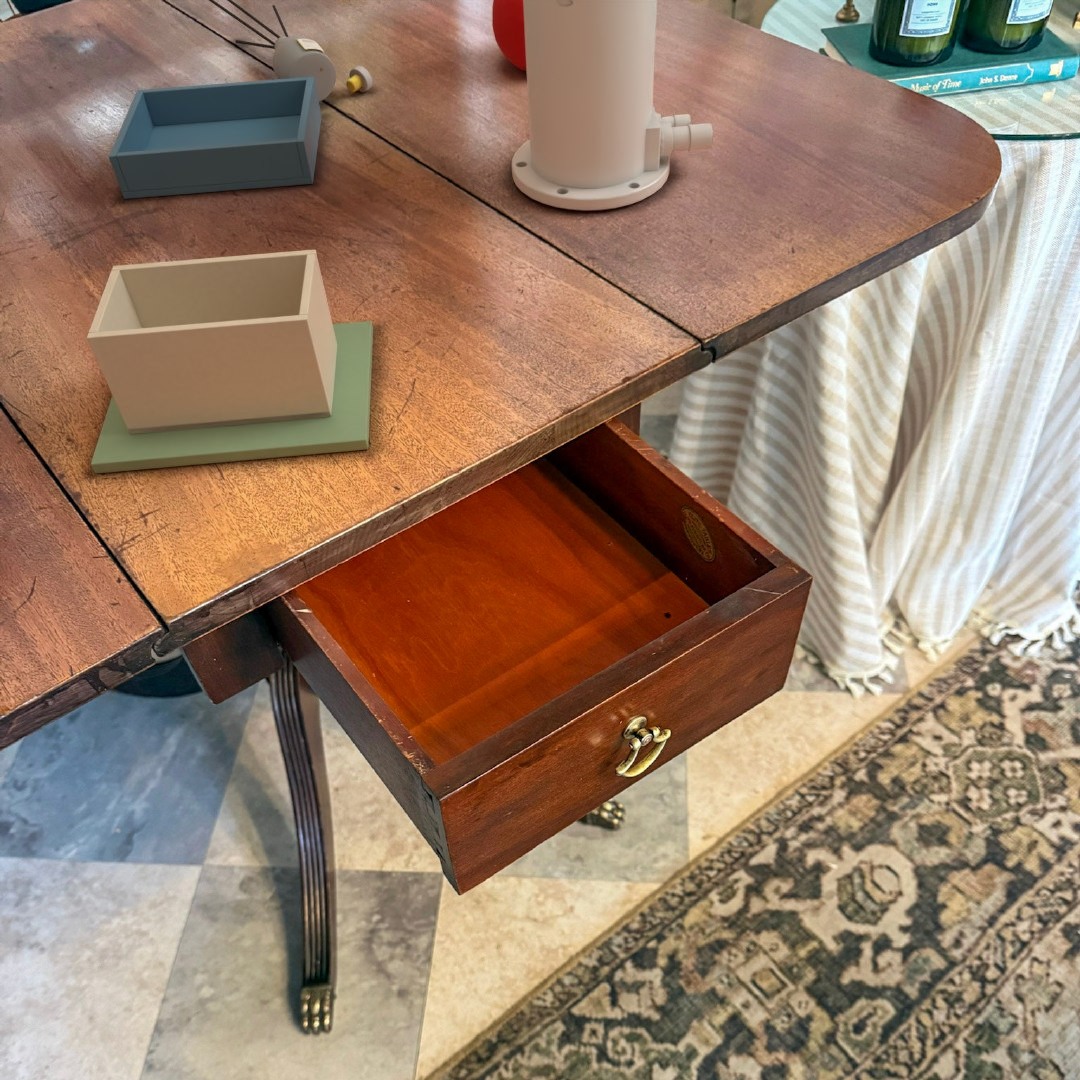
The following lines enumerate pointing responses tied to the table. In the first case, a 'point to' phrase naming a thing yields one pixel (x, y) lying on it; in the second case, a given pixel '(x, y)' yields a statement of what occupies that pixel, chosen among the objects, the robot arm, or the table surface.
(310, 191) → the table surface
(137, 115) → the blue tote
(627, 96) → the robot arm
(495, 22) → the fruit
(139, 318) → the cream bin
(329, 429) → the mat
